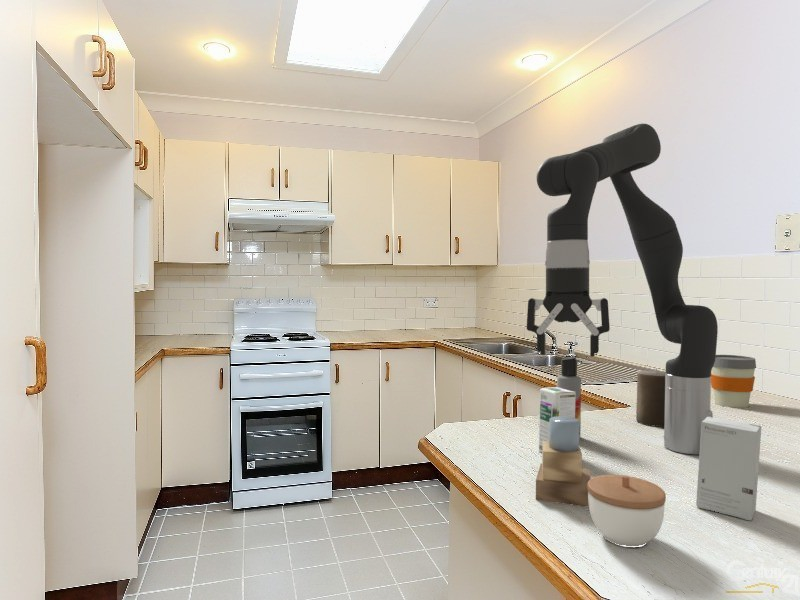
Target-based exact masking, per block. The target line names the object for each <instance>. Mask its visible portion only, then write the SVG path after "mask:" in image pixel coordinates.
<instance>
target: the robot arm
mask: <svg viewBox="0 0 800 600" xmlns="http://www.w3.org/2000/svg"><path fill="white" fill-rule="evenodd" d="M658 134H659V133H657V131H656V129H655V128H654V127H653V126H652V125H651V124H648V123H638V124H635V125H632V126H629V127H627V128H625V129H622V130H620V131H617V132H616V133H613V134H611V135H608V136H606V137H604V138H603V139H602V141H601V142H600V143H597V144H593V145H590V146H587V147H584V148H582V149H580V150H578V151H574V152H572V153H566V154H561V155H556V156H552V157H549V158H547V159H545V160H544V161H543V162H542V163H541V164H540V166H539V167H538V170H537V172H536V183H537V187H538V188H539V190H540V191H541V192H542V193H543V194H545V195H546V196H549V197H560V196H567V195H570V196H569V198H568V200H567V202H566V203H565V204H563V205H562V206H560V207H557V208H554V209H552V210H551V211H549V212H548V214H547V217H546V219H547V220H546V227H547V228H546V241H547V242H546V251H545V262H544V263H545V264H544V266H545V296H544V299H540V298H539V299H538V298H534V297H532V298H529V299H528V301H527V315H526V316H527V317H526V329H527V331H528V332H532V333H535V334H536V339H537V340H536V349H537V352H538V353H539V352H540V355H541V356H545V355H546V352H547V351H546V346H547V344H546V340H547V339H546V338H547V337H546V333H545V331H546V330H547V329H548V327H549V326H550V325H551V324H552V322H553V321H555V322H558V323H565V322H566V323H567V322H568V323H569V322H570V323H577V322H580V321H581V322H582V323H583V325H584V326H585V328H586V329H587V330H588V331H589V332H590V334H589V335H590V336H589V337H590V340H589V341H590V342H589V343H590V344H589V349H590V351H589V354H590V355H589V356H590V357H593V358H594V357H595V354H598V353H599V350H600V349H599V348H600V347H599V344H600V343H599V342H600V335H601V334H605V333H608V332H610V311H609V301H608V299H607V298H605V297H602V298H598V299H592V298H591V296H590V262H591V261H590V249H589V241H588V239H589V235H588V234H589V231H588V230H589V228H588V226H589V224H588V223H589V214H590V210H591V206H592V202H593V198H594V196H595V195H594V194H595V191H596V189H597V185H598V183H599V182H602V181H604V180H606V179H610V181H611V183H612V186H613V188H614V190H615V192H616V194H617V196H618V199H619V201H620V203H621V206H622V209H623V212H624V215H625V218H626V222H627V224H628V226H629V231H630V233H631V236H632V237H631V238H632V240H633V244H634V246H635V249H636V252H637V255H638V258H639V260H640V263H641V266H642V268H643V269H642V270H643V272H644V275H645V279H646V281H647V282H646V283H647V285H648V288H649V292H650V295H651V299H652V300H651V301H652V305H653V308H654V314H655V318H656V322H657V326H658V329H659V332H660V334H661V335H662V336H663V338H664V339H665V340H667V341H668V342H670V343H673V344H677V345H680V349H679V354H678V355H677V356H676V357H675V358H671V359H669V360H667V361H666V362H665V370H664V372H666V373H665V423H664V427H663V429H664V433H663V434H664V435H663V443H664V444H663V446H664V448H666V449H668V450H670V451H673V452H677V453H682V454H685V455H686V454H687V455H700V440H701V427H702V421H703V420H705V419H706V418H707V417H714V415H713V414H714V413H713V411H712V410H711V399H712V398H711V397H712V395H711V394H712V392H711V391H712V389H711V388H712V387H711V370H712V368H713V365H714V363H715V358H716V355H717V344H718V331H719V330H718V327H719V325H718V320H717V316H716V314H715V313H714V311H713V310H712V309H710V307H708V306H705V305H695V304H686V303H685V301H684V298H683V296H682V293H681V289H680V285H679V272H680V268H681V264H682V261H683V260H682V259H683V253H684V248H683V243H682V239H681V236H680V233H679V230H678V226H677V224H676V221H675V219H674V218H673V216H672V215H671V214H670V213H669V212H667V210H666V209H664V208H663V207H661V206H660V205H659V204H658V203H656V202H655V201H654V200H652V199H651V198H649V197H648V196H647V195H646V194H645V193H644V192H643V191H642V190H641V189H640V187H639V186H638V185H637V183H636V181H635V179H634V177H633V174H632V172H634V171H637V170H640V169H642V168H646V167H647V166H650V165H652V164H654V163H655V162H656V161H657V160H658V159H659V157H660V154H661V150H662V146H661V140H660V137H659V135H658ZM541 306H544V309H545V310H546V311H547V312H548V313H549V314H548V315H547V316H546V317H545V318H544V320H543V321H542V323H541V324H540V325H537V324H535V322H536V311H539V309H540V308H541ZM592 306H594V307H595V309H596V311H598V312H600V317H601V325H600V326H596V325H595V323H594V322H593V321H592V320H591V318H589V316H588V315H587V312H588V311H589V310H590V309H591V307H592Z"/></svg>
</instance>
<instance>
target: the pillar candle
mask: <svg viewBox="0 0 800 600" xmlns="http://www.w3.org/2000/svg"><path fill="white" fill-rule="evenodd" d="M636 373H637V380H636V385H637V386H636V405H635V406H636V412H635V413H636V414H635V419H636V422H638V423H639V424H642V425H646V426H650V427H660V428H661V427H662V428H664V423H665V373H666V372H665V371H659V370H658V368H657V367H656V368H655V370H638V371H637V372H636Z"/></svg>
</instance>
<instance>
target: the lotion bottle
mask: <svg viewBox="0 0 800 600" xmlns="http://www.w3.org/2000/svg"><path fill="white" fill-rule="evenodd" d="M560 367H561V368H560V375H557V376H556V377H557V378H556V387H559V388H562V389H566V390H569V391H574V392H575V393H576V395H575V419H578V420H579V421H580V434H579V440H580V439H581V432H582V431H581V428H582V421H581V419H582V418H581V417H582V413H581V411H582V377H581V376H579V375H578V359H577V358H576V357H575V356H567V357H562V358H561V360H560Z"/></svg>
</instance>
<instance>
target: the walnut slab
mask: <svg viewBox="0 0 800 600" xmlns="http://www.w3.org/2000/svg"><path fill="white" fill-rule="evenodd" d="M590 479H591V468H584V467H583V468H582V483H577V482H566V481H555V480H544V479H543V474H542V462H541V463H540V464H539V468H538V471H537V475H536V479H535V500H536V501H542V502H550V503H556V502H558V503H557V504H563V503H564V504H565V505H570V504H573V505H572V506H577V505H580V507H584V506H589V503H588V488H587V484H588V481H589V480H590Z"/></svg>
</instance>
